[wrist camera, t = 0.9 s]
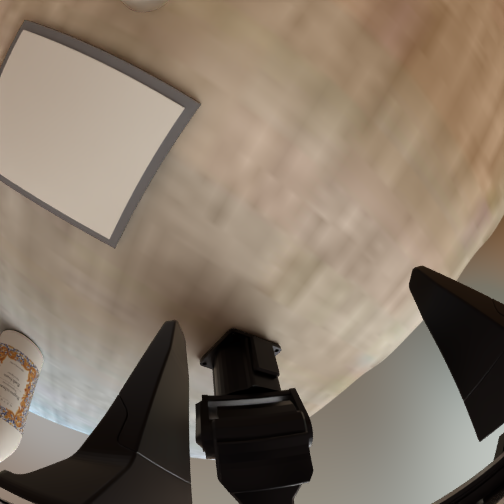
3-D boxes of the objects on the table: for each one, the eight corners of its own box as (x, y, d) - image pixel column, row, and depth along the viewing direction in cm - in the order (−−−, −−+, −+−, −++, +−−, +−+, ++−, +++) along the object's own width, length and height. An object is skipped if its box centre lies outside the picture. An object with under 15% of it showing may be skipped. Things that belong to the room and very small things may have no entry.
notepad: (117, 243, 20) (114, 250, 19) (-23, 158, 14) (-31, 162, 13) (201, 104, 16) (200, 104, 15) (30, 21, 9) (22, 19, 8)
